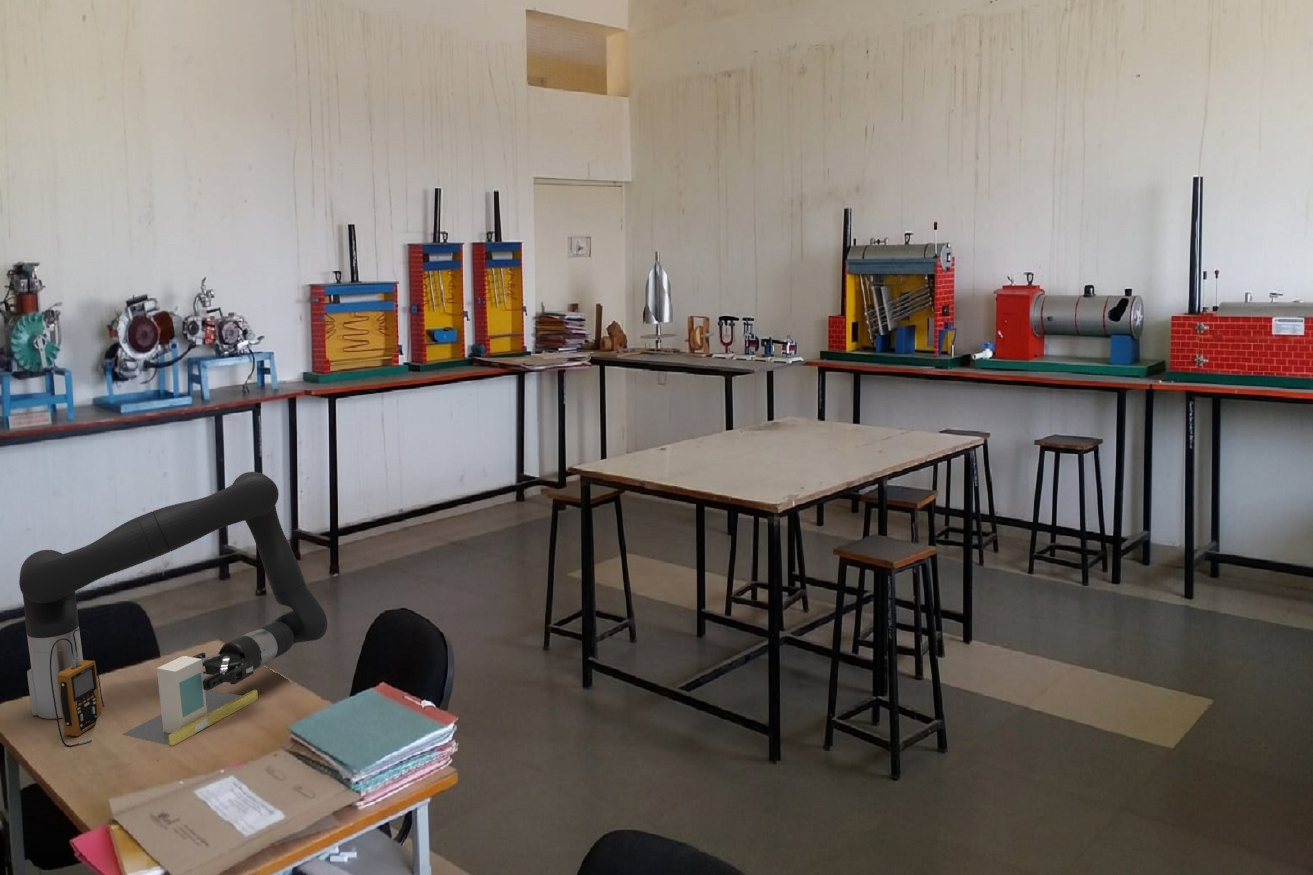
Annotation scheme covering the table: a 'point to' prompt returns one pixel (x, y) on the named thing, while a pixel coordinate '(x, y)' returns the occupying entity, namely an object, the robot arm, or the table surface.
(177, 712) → the carton
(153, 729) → the shelf
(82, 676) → the multimeter
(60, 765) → the table surface
